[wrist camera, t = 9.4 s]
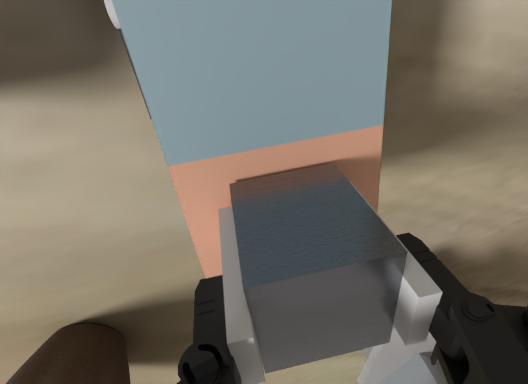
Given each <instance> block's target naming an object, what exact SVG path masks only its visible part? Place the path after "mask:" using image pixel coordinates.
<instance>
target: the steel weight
mask: <svg viewBox="0 0 528 384" xmlns="http://www.w3.org/2000/svg"><path fill="white" fill-rule="evenodd" d="M229 187H230V194H231V202H232V209H233V217H234V224H235V232H236V239H237V247H238V255H239V262H240V270H241V277H242V285H243V291H244V295H245V298H246V302H247V306H248V310H249V312H250V316H251V319H252V323H253V327H254V331H255V335H256V339H257V342H258V346H259V350H260V354H261V359H262V363H263V366H264V370H265V373H269V372H273V371H277V370H281V369H285V368H289V367H293V366H297V365H301V364H305V363H309V362H313V361H317V360H321V359H325V358H329V357H333V356H337V355H341V354H345V353H349V352H353V351H357V350H361V349H365V348H369V347H373V346H377V345H381V344H385V343H389V342H390V338H391V333H392V328H393V322H394V317H395V312H396V307H397V302H398V297H399V292H400V287H401V282H402V277H403V273H404V268H405V263H406V258H407V253H408V251H407V250H406V249H405V248H404V247H403V245H402V244H401V243H400V242H399V241H398V239H397V238H396V237H395V236H394V235H393V233H392V232H391V231H390V230H389V229H388V227H387V226H386V225H385V224H384V223H383V221H382V220H381V219H380V218H379V217H378V215H377V214H376V213H375V212H374V211H373V209H372V208H371V207H370V206H369V205H368V203H367V202H366V201H365V200H364V199H363V197H362V196H361V195H360V194H359V193H358V191H357V190H356V189H355V188H354V187H353V185H352V184H351V183H350V182H349V181H348V179H347V178H346V177H345V176H344V175H343V173H342V172H341V171H340V170H339V169H338V167H337V166H336V165H335V164H334V163H330V164H325V165H320V166H315V167H310V168H305V169H300V170H295V171H290V172H285V173H280V174H275V175H270V176H266V177H261V178H256V179H251V180H246V181H241V182H236V183H231V184H229Z"/></svg>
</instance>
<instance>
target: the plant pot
mask: <svg viewBox="0 0 528 384" xmlns="http://www.w3.org/2000/svg"><path fill="white" fill-rule="evenodd" d="M6 384H130V374H129V366H128V359H127V352H126V346H125V341H124V339H123V337H122V336H121V334H120V333H118V332H117V331H116V330H114V329H112V328H109V327H107V326H103V325H99V324H87V323H84V324H74V325H70V326H67V327H64V328H62V329H60V330H58V331H56V332H55V333H54V334H53V335H52V336H51V337H50V338H49V339H48V340H47V341H46V342H45V343H44V344H43V345H42V346H41V347H40V348H39V349H38V350H37V351H36V352H35V353H34V354H33V355H32V356H31V357H30V358H29V359H28V360H27V361H26V362H25V363H24V364H23V365H22V366H21V367H20V368H19V370H18V371H17V372H16V373H15V374H14V375H13V376H12V377H11V378H10V379H9V380H8V382H7V383H6Z"/></svg>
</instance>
